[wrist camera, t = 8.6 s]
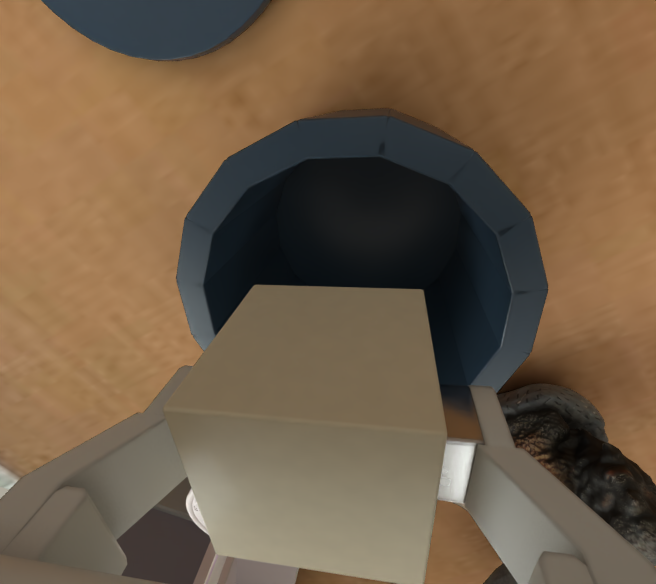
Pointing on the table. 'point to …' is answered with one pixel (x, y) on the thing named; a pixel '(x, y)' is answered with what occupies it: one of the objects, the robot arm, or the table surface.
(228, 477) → the block
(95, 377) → the table surface
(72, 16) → the lid
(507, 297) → the canister
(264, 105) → the table surface
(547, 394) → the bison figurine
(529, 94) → the table surface
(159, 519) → the instant camera
